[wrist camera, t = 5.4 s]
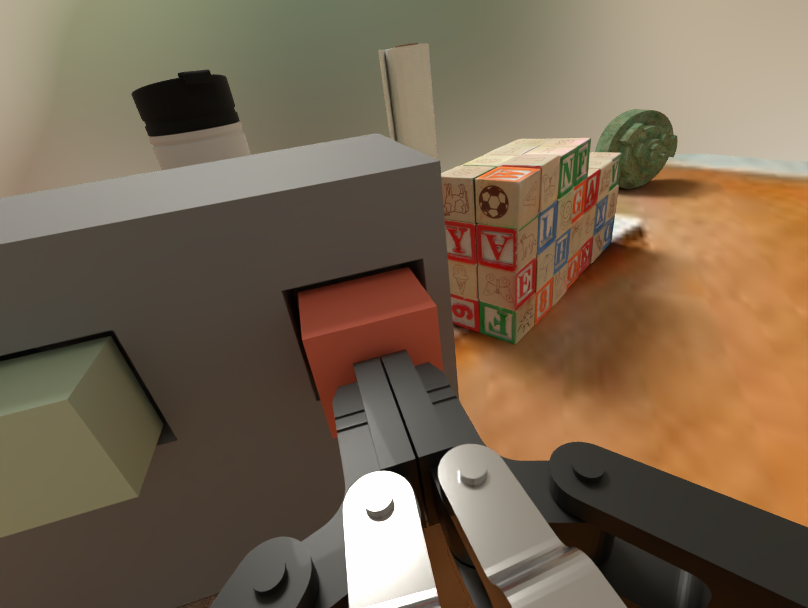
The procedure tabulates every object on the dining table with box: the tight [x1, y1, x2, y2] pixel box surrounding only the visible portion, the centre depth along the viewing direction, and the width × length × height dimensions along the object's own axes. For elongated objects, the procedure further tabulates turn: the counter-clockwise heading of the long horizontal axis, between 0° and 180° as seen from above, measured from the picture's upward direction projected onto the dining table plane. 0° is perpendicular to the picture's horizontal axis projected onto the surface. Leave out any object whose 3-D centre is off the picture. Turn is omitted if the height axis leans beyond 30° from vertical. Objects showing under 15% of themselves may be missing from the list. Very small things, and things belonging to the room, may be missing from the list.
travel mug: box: [132, 70, 251, 170], centre depth 32 cm, size 6×7×20 cm
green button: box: [0, 336, 164, 538], centre depth 11 cm, size 4×3×4 cm
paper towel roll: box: [378, 43, 438, 160], centre depth 60 cm, size 7×6×21 cm
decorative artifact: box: [595, 109, 677, 189], centre depth 54 cm, size 10×7×10 cm
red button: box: [298, 267, 443, 439], centre depth 13 cm, size 4×3×4 cm
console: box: [0, 133, 459, 608], centre depth 17 cm, size 24×8×16 cm, turn 105°
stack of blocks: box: [441, 138, 622, 344], centre depth 35 cm, size 21×6×12 cm, turn 139°
